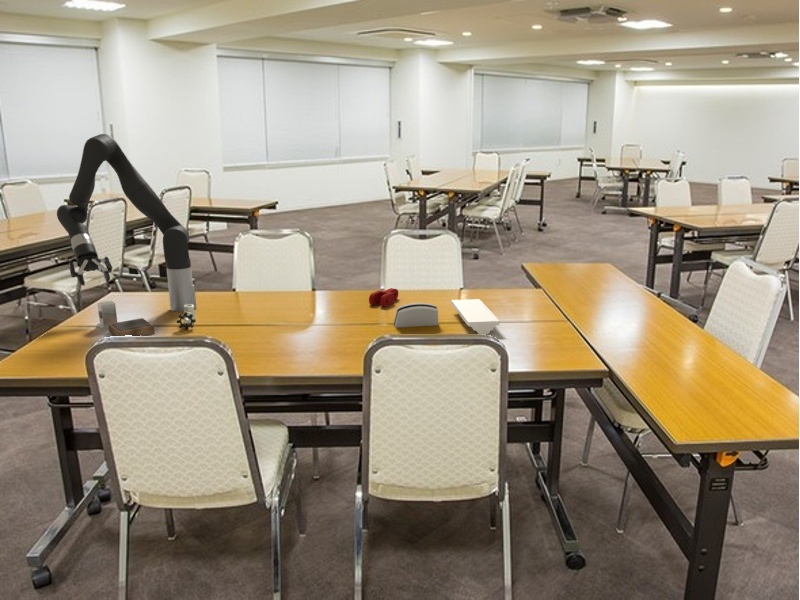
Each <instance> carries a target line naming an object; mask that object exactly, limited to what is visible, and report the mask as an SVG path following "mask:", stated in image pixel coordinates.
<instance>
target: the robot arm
mask: <svg viewBox="0 0 800 600" xmlns="http://www.w3.org/2000/svg"><path fill="white" fill-rule="evenodd" d="M104 162H106V163H108V164H109V165H110V166H111V168H112V169H113V170H114V172H115V173H116V175H117V177H118V181H119V183H120V186H121V189H122V191H123V194H124V195H125V197H126V198H127V199H128V200H129V201H130V203H131V204H132V205H133V206H134V208H136V210H138V211H139V212H140V213H141V214H143V215H144V216H145V217H146V218H147V219H149V220H150V221H151V222H152V223H153V224H154V225H155V226H156V227H157V228H158V229H159V232H160V233H161V234H162V248H163V256H164V261H165V265H166V275H167V286H168V287H167V288H168V296H169V307H170V308H169V309H170V311H172V312H178V313H180V312H184V305H187V304H192V305H194V310H195V309H197V298H196V289H195V288H196V287H195V285H194V284H193V274H192V273H193V272H192V262H191V258H190V254H189V253H190V252H189V242H190V238H191V237H190V233H189V231H188V230H187V229H186V227H185V226H184V225H183V224H182V223H180V222H179V220H177V218H176V217H174V216H173V214H172V213H171V212H170V211H169V210H168V209H167V208H168V207H166V206H165V204H164V203H163V201H162V199H160V197H159V196H158V195H157V193H156V192H155V191H154V189H153V188H152V187H151V186H150V184H148V182H147V181H146V180H145V179H144V178H143V176H142V175H141V174H140V173H139V171H138V170H137V169H136V168H135V166H134V165H133V164H132V162H131V161H130V160H129V158H128V157H127V155H126V154H125V152H124V151H123V150H122V148H121V146H120V145H119V144H118V142H117V141H116V140H115V139H114V138H113V137H112V136H111V135H109V134H107V133H106V134H105V133H100V134H97V135H95V136H91V137H90V138H88V139H87V140H86V141H85V143H84V145H83V149H82V155H81V161H80V164H79V169H78V172H77V176H76V179H75V181H74V183H73V186H72V188H71V191H70V193H69V196H68V200H69V201H70V202H71V204H72V205H71V204H70V205H69V204H68V205H67V204H62V205H60V206H59V207H58V208H57V211H56V217H57V220H58V222H59V223H60V224H61V226H62V227H63V229H64V230H65V231H66V232H67V234H68V237H69V239H70V243H71V247H72V251H73V253H74V256H75V259H76V261H73V260H69V261H68V268H69V273H70V276H71V278H77V281H78V283H79V285H81V286H82V287H84V286H86V285H85V283H86V281H85V279H84V276H83V274H84V273H85V272H87V273H89V272H92V271H93V272H94V271H98V272H99V273H102V275H103V277H104V280H105V282H106V283H109V281H111V276H110V273H112V270H113V266H112V263H111V261H110V260H109V257H108V256H105V257H104V258H100V257H99V254H98V252H97V250H96V247H95V244H94V241H93V239H92V237H91V234H90V232H89V229H88V226H86V224H84V223H86V221H87V219H88V215H89V214H88V212H89V211H88V209H89V203H90V199H91V198H92V195H93V193H94V191H95V185H96V175H97V172H98V170H99V169H100V167H101V165H102V164H103V163H104ZM104 265H105V266H104ZM76 267H79V270H78V272H77V271H76Z"/></svg>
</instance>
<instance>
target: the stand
mask: <svg viewBox="0 0 800 600" xmlns="http://www.w3.org/2000/svg"><path fill="white" fill-rule="evenodd" d="M117 322H118V323H112V324H108V328H109V329H108V333H109V334H111V336H113V337H114V336H125V335H132V336H140V335H146V336H149V335H151V336H152V335H155V325H153V324H152V323H151V322H149V321H148V320H146V319H145V318H143V317H141V318H140V317H139V318H136V319H130V320H124V321H117Z"/></svg>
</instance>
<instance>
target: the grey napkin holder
mask: <svg viewBox="0 0 800 600" xmlns="http://www.w3.org/2000/svg"><path fill="white" fill-rule="evenodd" d="M393 325H394V327H395V329H396V328H397V329H398V328H409V327H410V328H411V327H412V328H413V327H415V328H416V327H428V326H429V327H431V326H439V309H438V306H437V305H435V304H432V303H426V302H412V303H406V304H402V305H400V306H398V307H397V308H396V312H395V316H394V320H393Z"/></svg>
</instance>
